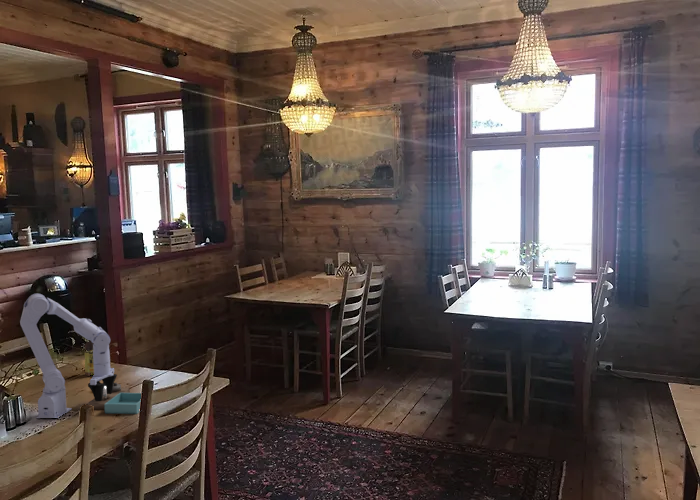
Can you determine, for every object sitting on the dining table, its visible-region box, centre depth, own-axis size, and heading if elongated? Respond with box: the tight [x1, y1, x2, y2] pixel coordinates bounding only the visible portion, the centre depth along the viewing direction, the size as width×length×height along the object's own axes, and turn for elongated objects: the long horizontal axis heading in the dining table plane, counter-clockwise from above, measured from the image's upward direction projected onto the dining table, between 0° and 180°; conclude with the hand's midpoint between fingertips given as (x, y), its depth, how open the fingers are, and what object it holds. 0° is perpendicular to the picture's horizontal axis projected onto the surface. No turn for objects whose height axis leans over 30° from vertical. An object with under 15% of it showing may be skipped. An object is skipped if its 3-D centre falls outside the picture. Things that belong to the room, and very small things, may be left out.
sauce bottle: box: [84, 341, 94, 377], centre depth 251 cm, size 7×6×20 cm
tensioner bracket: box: [86, 382, 131, 410], centre depth 219 cm, size 18×8×5 cm, turn 176°
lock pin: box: [102, 385, 107, 401], centre depth 215 cm, size 2×2×7 cm
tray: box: [104, 392, 142, 415], centre depth 212 cm, size 12×12×4 cm
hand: (103, 397), depth 215 cm, fingers open, 7 cm apart
